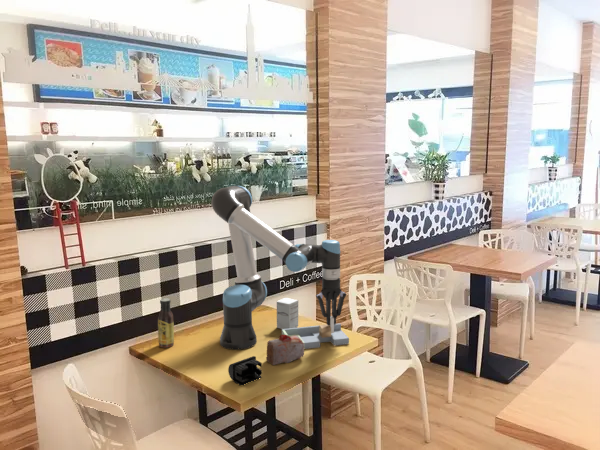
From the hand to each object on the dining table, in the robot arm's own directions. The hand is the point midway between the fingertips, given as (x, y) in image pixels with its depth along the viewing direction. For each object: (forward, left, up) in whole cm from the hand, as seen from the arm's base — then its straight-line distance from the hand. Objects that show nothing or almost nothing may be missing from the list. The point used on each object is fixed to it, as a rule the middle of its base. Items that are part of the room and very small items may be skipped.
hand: (331, 331), depth 211 cm
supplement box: (-14, +20, -4) cm, 25 cm away
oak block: (-3, 0, -1) cm, 3 cm away
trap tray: (-7, 0, -4) cm, 8 cm away
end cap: (-40, -25, -4) cm, 47 cm away
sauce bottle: (-67, +13, -4) cm, 68 cm away
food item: (-23, -13, -4) cm, 27 cm away
